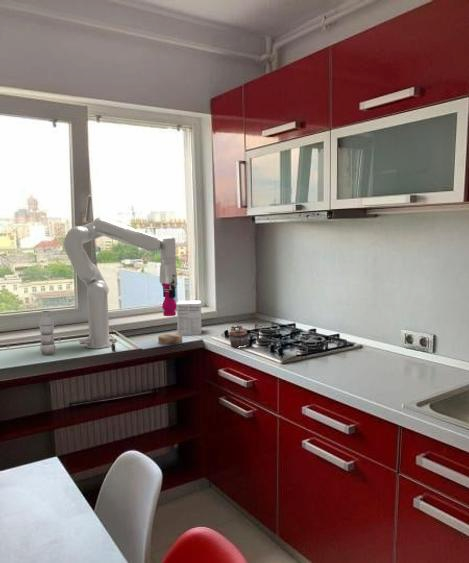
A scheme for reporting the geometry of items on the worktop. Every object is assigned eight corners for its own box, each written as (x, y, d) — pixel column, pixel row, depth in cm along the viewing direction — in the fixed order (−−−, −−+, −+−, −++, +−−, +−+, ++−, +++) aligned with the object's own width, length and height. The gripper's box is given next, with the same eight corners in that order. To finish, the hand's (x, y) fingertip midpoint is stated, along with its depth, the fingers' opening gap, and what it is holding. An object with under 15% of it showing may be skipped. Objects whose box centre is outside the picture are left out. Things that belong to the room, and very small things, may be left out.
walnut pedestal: (166, 345, 228) (165, 339, 228) (154, 341, 237) (154, 336, 237) (186, 342, 235) (186, 336, 235) (174, 338, 245) (174, 333, 244)
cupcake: (240, 349, 218) (240, 328, 217) (225, 346, 224) (224, 326, 223) (253, 345, 225) (252, 325, 224) (237, 343, 231) (237, 323, 230)
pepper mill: (179, 314, 236) (178, 275, 235) (170, 316, 230) (169, 276, 229) (168, 313, 240) (167, 275, 238) (159, 315, 234) (158, 276, 232)
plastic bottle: (49, 356, 209) (47, 312, 207) (37, 355, 211) (35, 312, 209) (59, 353, 215) (57, 310, 213) (47, 352, 217) (45, 310, 216)
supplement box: (201, 334, 254) (200, 303, 253) (177, 335, 253) (176, 303, 252) (201, 330, 267) (201, 300, 266) (178, 331, 266) (177, 300, 265)
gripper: (153, 261, 237) (154, 296, 239) (170, 262, 224) (171, 299, 225) (166, 260, 242) (167, 295, 243) (183, 261, 229) (184, 298, 230)
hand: (169, 296), depth 234 cm, fingers closed on pepper mill, 5 cm apart
